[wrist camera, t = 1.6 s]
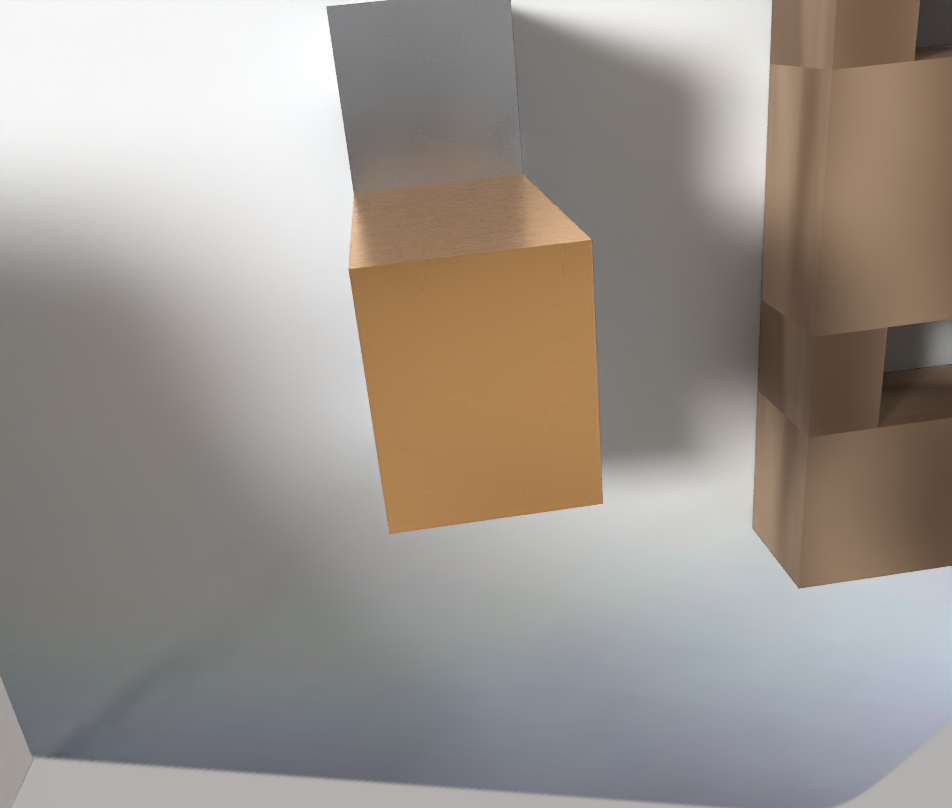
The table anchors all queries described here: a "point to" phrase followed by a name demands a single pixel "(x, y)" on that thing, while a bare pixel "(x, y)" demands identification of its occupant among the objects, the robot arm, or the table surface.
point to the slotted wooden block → (854, 294)
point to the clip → (462, 273)
